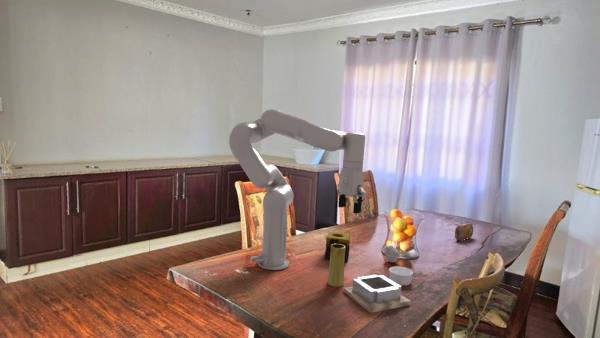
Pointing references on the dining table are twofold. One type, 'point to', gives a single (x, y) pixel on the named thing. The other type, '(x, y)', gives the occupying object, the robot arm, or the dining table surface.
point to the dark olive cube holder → (337, 239)
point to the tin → (463, 231)
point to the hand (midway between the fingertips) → (349, 209)
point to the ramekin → (401, 275)
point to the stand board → (373, 306)
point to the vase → (336, 265)
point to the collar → (384, 294)
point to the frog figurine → (391, 253)
